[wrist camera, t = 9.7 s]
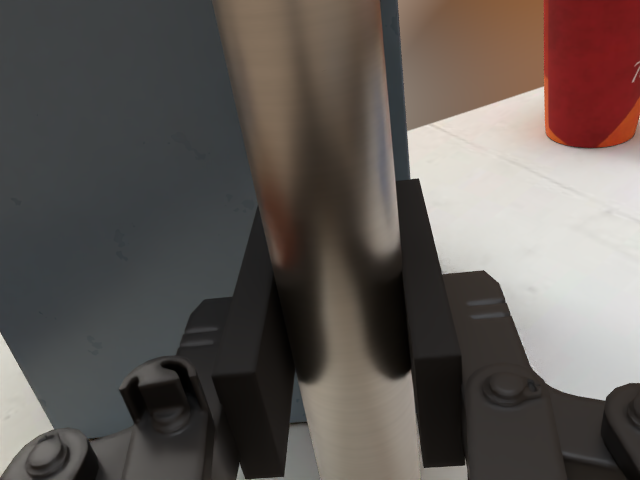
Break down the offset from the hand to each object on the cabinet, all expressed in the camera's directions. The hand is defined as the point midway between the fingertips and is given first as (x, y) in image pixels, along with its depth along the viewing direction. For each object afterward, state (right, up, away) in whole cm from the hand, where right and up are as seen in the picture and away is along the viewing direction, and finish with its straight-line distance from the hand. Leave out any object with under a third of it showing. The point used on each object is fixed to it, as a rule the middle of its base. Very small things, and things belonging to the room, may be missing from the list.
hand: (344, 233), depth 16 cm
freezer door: (-4, -9, +5) cm, 11 cm away
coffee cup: (+19, +8, +27) cm, 34 cm away
